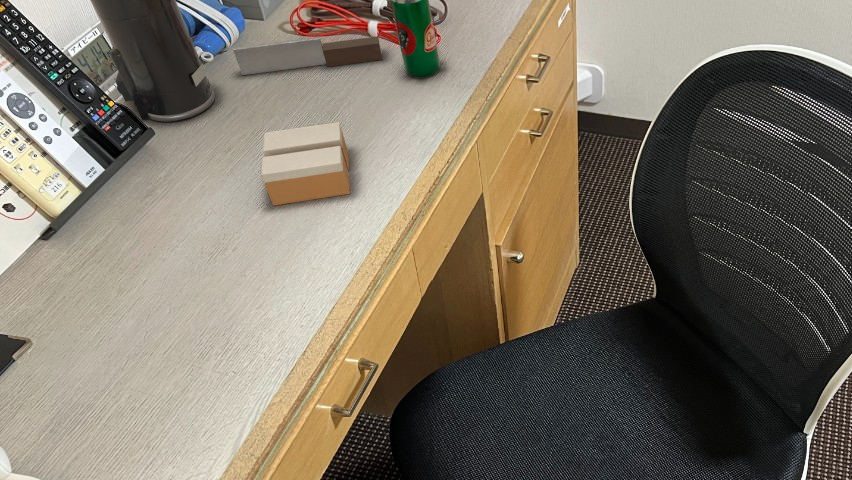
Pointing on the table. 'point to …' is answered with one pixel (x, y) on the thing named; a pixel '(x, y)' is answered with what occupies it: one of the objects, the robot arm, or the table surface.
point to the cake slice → (305, 175)
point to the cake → (305, 140)
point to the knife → (306, 54)
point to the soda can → (416, 37)
